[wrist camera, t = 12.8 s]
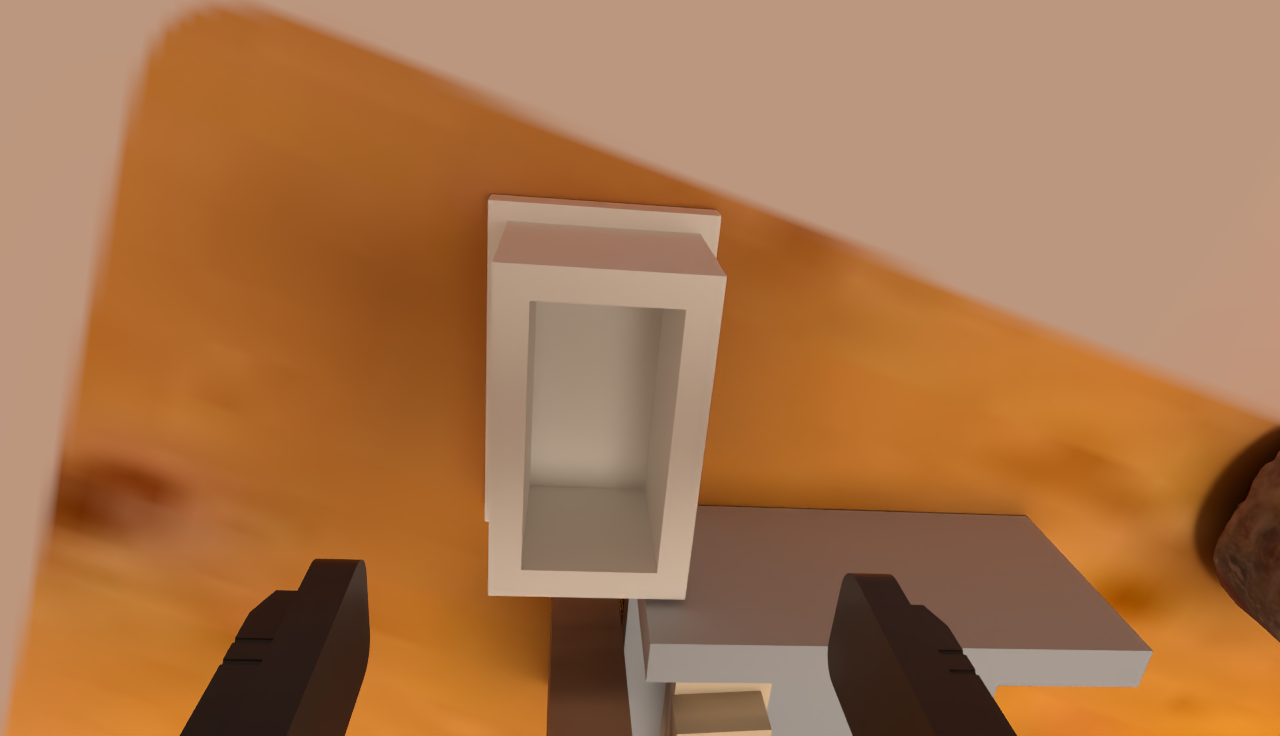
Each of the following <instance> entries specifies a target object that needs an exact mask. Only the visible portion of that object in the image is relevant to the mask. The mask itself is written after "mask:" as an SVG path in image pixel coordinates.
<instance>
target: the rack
mask: <svg viewBox="0 0 1280 736" xmlns="http://www.w3.org/2000/svg"><path fill="white" fill-rule="evenodd" d="M847 573H871V574H891V575H893V576H894V577H895V579H896V580H897V582H898V583H899V585H900V587H901V589H902V590H903V592H904V594H905V595H906V597H907V599H908V600H909V602H910V604H911V605H924V606H925V607H926V608H927V609H929V610H930V611H931V612H932V613H933V614H935V615H936V616H937V617H938V618H939V619H940V620H942V621H943V622H944V623H945V624H946V625H947V626H948V627H949V628H950V630H951V632H952V633H953V635H954V636H955V638H956V639H957V641H958V643H959V644H960V646H961V647H962V649H963V654H964V655H967V657H968V659H969V660H970V662H971V663H972V665H973V667H974V668H975V673H976V675H979V676H980V678H981V679H982V681H983V683H984V684H985V686H986V687H987V689H988V690H989V692H990V694H991V695H992V697H993V698H994V695H995V692H996V689H997V686H1091V687H1138V686H1139V684H1140V681H1141V679H1142V676H1143V674H1144V672H1145V669H1146V667H1147V665H1148V662H1149V660H1150V657H1151V655H1152V653H1153V650H1152V649H1151V648H1150V647H1149V646H1148V645H1147V644H1146V643H1145V642H1144V641H1143V640H1142V639H1141V638H1140V636H1139V635H1138V634H1137V633H1136V632H1135V631H1134V630H1133V629H1132V628H1131V627H1130V626H1129V625H1128V624H1127V623H1126V621H1125V620H1124V619H1123V618H1122V617H1121V616H1120V615H1119V614H1118V613H1117V612H1116V611H1115V610H1114V609H1113V608H1112V607H1111V605H1110V604H1109V603H1108V602H1107V601H1106V600H1105V599H1104V598H1103V597H1102V596H1101V595H1100V594H1099V593H1098V592H1097V590H1096V589H1095V588H1094V587H1093V586H1092V585H1091V584H1090V583H1089V582H1088V581H1087V580H1086V579H1085V578H1084V577H1083V575H1082V574H1081V573H1080V572H1079V571H1078V570H1077V569H1076V568H1075V567H1074V566H1073V565H1072V564H1071V563H1070V562H1069V561H1068V559H1067V558H1066V557H1065V556H1064V555H1063V554H1062V553H1061V552H1060V551H1059V550H1058V549H1057V548H1056V547H1055V546H1054V544H1053V543H1052V542H1051V541H1050V540H1049V539H1048V538H1047V537H1046V536H1045V535H1044V534H1043V533H1042V532H1041V531H1040V530H1039V528H1038V527H1037V526H1036V525H1035V524H1034V523H1033V522H1032V521H1031V520H1030V519H1029V518H1028V517H1027V516H1010V515H979V514H948V513H917V512H885V511H854V510H823V509H792V508H761V507H730V506H699V505H697V512H696V519H695V527H694V535H693V543H692V550H691V558H690V566H689V573H688V581H687V589H686V596H685V600H677V599H628V598H625V600H624V610H623V621H622V635H623V646H624V656H625V666H626V676H627V686H628V696H629V706H630V716H631V726H632V736H660V729H661V721H662V713H663V705H664V697H665V689H666V682H675V683H772V687H771V692H770V697H769V703H768V708H767V714H768V718H769V721H770V725H771V729H772V733H771V736H852V733H851V731H850V728H849V725H848V723H847V720H846V718H845V715H844V713H843V710H842V708H841V705H840V703H839V700H838V697H837V695H836V692H835V690H834V687H833V685H832V682H831V679H830V675H829V669H828V656H827V654H828V643H829V638H830V633H831V629H832V624H833V620H834V615H835V611H836V606H837V602H838V597H839V592H840V588H841V584H842V580H843V578H844V576H845V575H846V574H847Z"/></svg>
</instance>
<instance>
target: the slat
mask: <svg viewBox="0 0 1280 736" xmlns="http://www.w3.org/2000/svg"><path fill="white" fill-rule="evenodd" d="M547 736H632V726H631V716H630V706H629V696H628V686H627V676H626V666H625V656H624V646H623V635H622V625H621V615H620V605H619V598H578V597H552V612H551V634H550V656H549V678H548V705H547Z"/></svg>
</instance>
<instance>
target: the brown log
mask: <svg viewBox="0 0 1280 736" xmlns="http://www.w3.org/2000/svg"><path fill="white" fill-rule="evenodd" d="M1213 562H1214V565H1215V568H1216V570H1217V576H1218V578H1219V581H1220V583H1221V585H1222V587H1223V588H1224V589H1225V591H1226V592H1227V593H1228V594H1229V595H1230V597H1231V598H1232V599H1233V600H1234V602H1235V603H1236V604H1237V605H1238V606H1239V607H1240V608H1241V609H1243V610H1244V611H1245V612H1246V613H1247V614H1249V615H1250V616H1251V617H1252V618H1253V619H1254V620H1256V621H1257V622H1258V623H1259V624H1260V625H1261V626H1263V627H1264V628H1265V629H1266V630H1267V631H1268V632H1269V633H1270V634H1271V635H1272V636H1273V637H1274V638H1276V639H1277V640H1278V641H1279V642H1280V450H1279V452H1278V454H1277V456H1276V458H1275V460H1273V461H1271V462H1269V463H1267V464H1265V465H1264V467H1263V468H1262V469H1261V470H1260V471H1259V473H1258V475H1257V476H1256V478H1255V479H1254V481H1253V482H1252V485H1251V489H1250V491H1249V494H1248V496H1247V498H1246V500H1245V501H1244V502H1240V503H1239V504H1238V506H1237V508H1236V510H1235V512H1234V513H1233V515H1232V517H1231V519H1230V521H1229V522H1228V523H1227V524H1226V527H1225V528H1224V530H1223V532H1222V534H1221V535H1220V537H1219V538H1218V542H1217V545H1216V548H1215V551H1214V555H1213Z"/></svg>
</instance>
